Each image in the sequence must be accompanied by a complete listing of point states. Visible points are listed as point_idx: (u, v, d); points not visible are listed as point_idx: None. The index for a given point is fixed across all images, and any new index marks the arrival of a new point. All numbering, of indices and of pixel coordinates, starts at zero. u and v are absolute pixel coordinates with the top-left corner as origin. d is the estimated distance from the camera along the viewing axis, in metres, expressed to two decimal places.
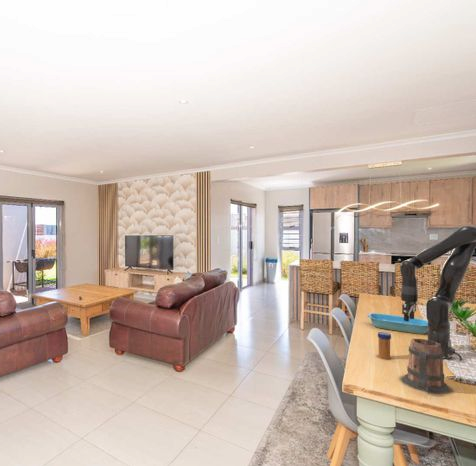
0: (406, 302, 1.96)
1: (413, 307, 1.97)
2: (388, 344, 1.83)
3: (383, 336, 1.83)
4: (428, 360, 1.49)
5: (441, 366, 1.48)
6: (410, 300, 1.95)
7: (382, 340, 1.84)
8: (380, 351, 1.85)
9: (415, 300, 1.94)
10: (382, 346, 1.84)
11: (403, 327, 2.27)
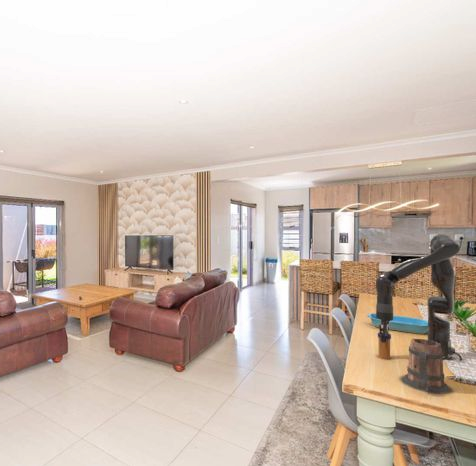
0: None
1: None
2: (388, 344, 1.83)
3: None
4: (428, 360, 1.49)
5: (441, 366, 1.48)
6: None
7: None
8: (380, 351, 1.85)
9: None
10: (382, 346, 1.84)
11: (403, 327, 2.27)
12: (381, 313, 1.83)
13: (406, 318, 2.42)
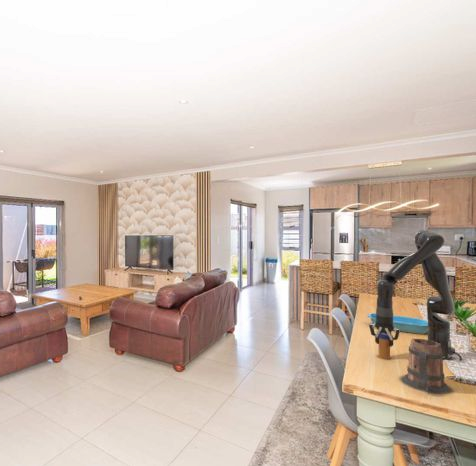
0: (376, 322, 1.88)
1: (386, 331, 1.83)
2: (388, 344, 1.83)
3: None
4: (428, 360, 1.49)
5: (441, 366, 1.48)
6: (376, 320, 1.87)
7: (382, 340, 1.84)
8: (380, 351, 1.85)
9: (379, 321, 1.84)
10: (382, 346, 1.84)
11: (403, 327, 2.27)
12: (392, 318, 1.82)
13: (406, 318, 2.42)
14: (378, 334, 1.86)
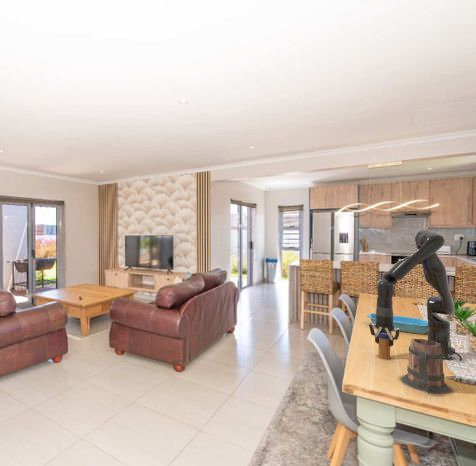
0: (376, 322, 1.88)
1: (386, 331, 1.83)
2: (388, 344, 1.83)
3: None
4: (428, 360, 1.49)
5: (441, 366, 1.48)
6: (376, 320, 1.87)
7: (382, 340, 1.84)
8: (380, 351, 1.85)
9: (379, 321, 1.84)
10: (382, 346, 1.84)
11: (403, 327, 2.27)
12: (392, 318, 1.82)
13: (406, 318, 2.42)
14: (386, 336, 1.83)
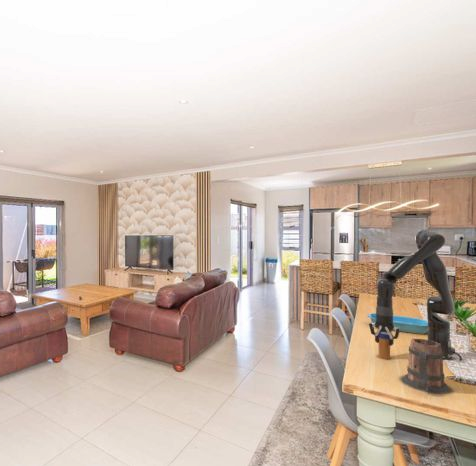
0: (376, 321, 1.88)
1: (386, 330, 1.83)
2: (388, 344, 1.83)
3: None
4: (428, 360, 1.49)
5: (441, 366, 1.48)
6: (376, 319, 1.87)
7: (382, 340, 1.84)
8: (380, 351, 1.85)
9: (379, 320, 1.84)
10: (382, 346, 1.84)
11: (403, 327, 2.27)
12: (392, 317, 1.82)
13: (406, 318, 2.42)
14: None
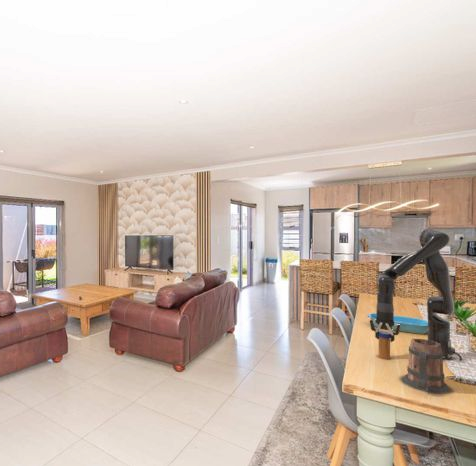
0: (376, 318, 1.88)
1: (386, 326, 1.83)
2: (388, 344, 1.83)
3: (382, 335, 1.84)
4: (428, 360, 1.49)
5: (441, 366, 1.48)
6: None
7: (382, 340, 1.84)
8: (380, 351, 1.85)
9: (379, 317, 1.84)
10: (382, 346, 1.84)
11: (403, 327, 2.27)
12: (392, 313, 1.81)
13: (406, 318, 2.42)
14: None
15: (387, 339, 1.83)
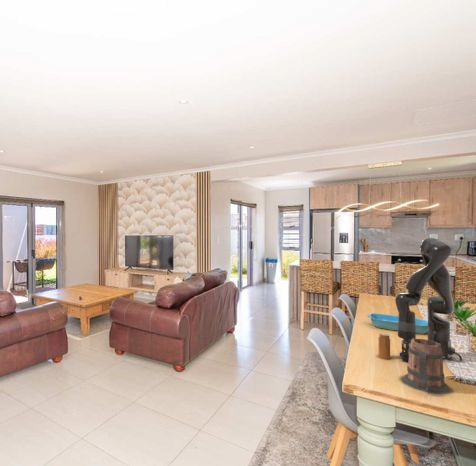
0: None
1: None
2: (388, 344, 1.83)
3: None
4: (428, 360, 1.49)
5: (441, 366, 1.48)
6: None
7: (382, 340, 1.84)
8: (380, 351, 1.85)
9: None
10: (382, 346, 1.84)
11: None
12: (403, 332, 1.80)
13: None
14: None
15: (387, 339, 1.83)
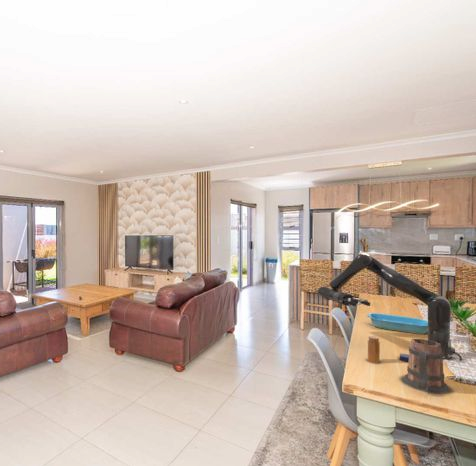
0: None
1: None
2: (377, 347, 1.78)
3: None
4: (428, 360, 1.49)
5: (441, 366, 1.48)
6: None
7: (371, 343, 1.79)
8: (369, 354, 1.80)
9: None
10: (371, 350, 1.79)
11: (403, 327, 2.27)
12: (338, 300, 2.08)
13: (406, 318, 2.42)
14: None
15: (376, 342, 1.78)
